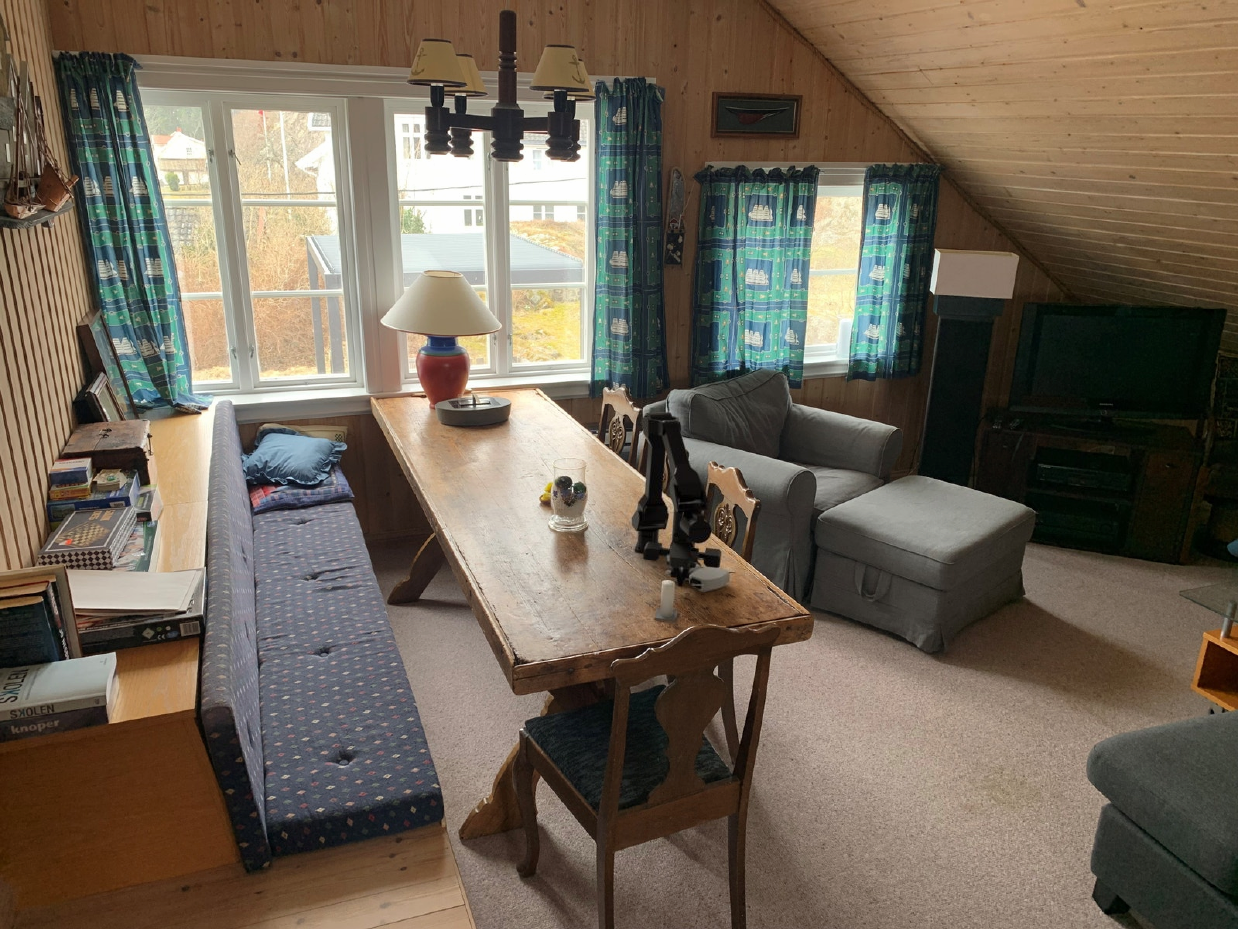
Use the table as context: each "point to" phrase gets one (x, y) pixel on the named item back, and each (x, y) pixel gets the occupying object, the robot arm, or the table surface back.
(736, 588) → the table surface
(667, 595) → the pair of white pegs
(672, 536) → the robot arm
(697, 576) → the robot toy
